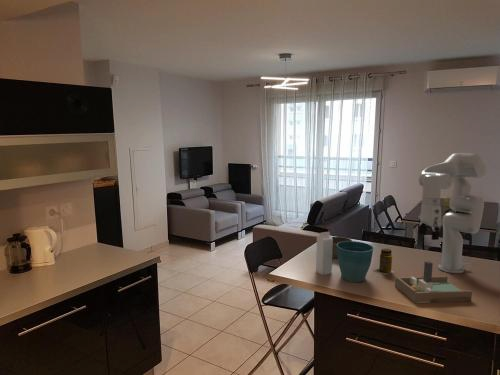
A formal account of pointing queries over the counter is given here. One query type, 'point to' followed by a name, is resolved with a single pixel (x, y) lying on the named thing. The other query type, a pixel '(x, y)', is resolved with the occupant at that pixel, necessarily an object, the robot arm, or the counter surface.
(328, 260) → the milk
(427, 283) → the striker
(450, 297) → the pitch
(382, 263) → the condiment
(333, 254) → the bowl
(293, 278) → the counter surface
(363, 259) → the flower pot
